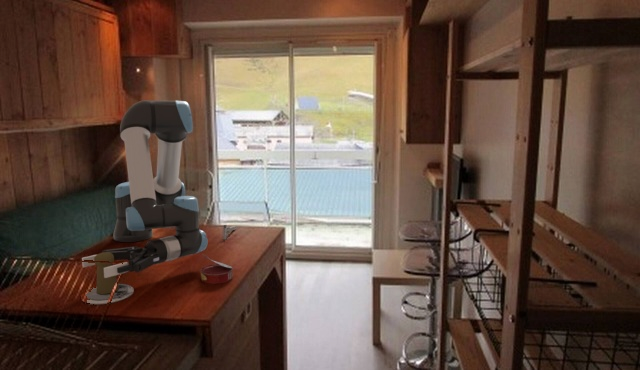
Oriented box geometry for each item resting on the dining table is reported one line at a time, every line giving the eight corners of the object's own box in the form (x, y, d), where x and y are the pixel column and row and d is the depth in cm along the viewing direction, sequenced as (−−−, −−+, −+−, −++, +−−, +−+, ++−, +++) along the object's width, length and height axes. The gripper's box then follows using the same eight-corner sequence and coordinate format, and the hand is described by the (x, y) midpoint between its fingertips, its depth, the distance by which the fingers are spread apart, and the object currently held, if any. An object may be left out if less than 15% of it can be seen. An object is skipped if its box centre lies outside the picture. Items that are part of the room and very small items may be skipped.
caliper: (225, 240, 190) (225, 226, 189) (223, 240, 190) (222, 225, 189) (237, 228, 210) (237, 214, 209) (235, 228, 211) (234, 214, 210)
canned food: (206, 288, 152) (206, 258, 155) (236, 285, 151) (235, 255, 154) (194, 284, 141) (194, 251, 144) (227, 281, 141) (227, 248, 144)
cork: (123, 287, 136) (119, 250, 135) (108, 294, 131) (103, 257, 129) (107, 285, 138) (103, 249, 137) (91, 293, 133) (86, 255, 131)
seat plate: (71, 295, 133) (71, 292, 133) (118, 282, 144) (118, 278, 144) (94, 309, 125) (94, 305, 124) (143, 293, 135) (142, 290, 135)
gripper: (185, 270, 139) (115, 291, 123) (141, 253, 155) (75, 270, 139) (184, 246, 138) (114, 264, 122) (140, 232, 154) (73, 246, 137)
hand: (93, 267), depth 130 cm, fingers open, 12 cm apart
